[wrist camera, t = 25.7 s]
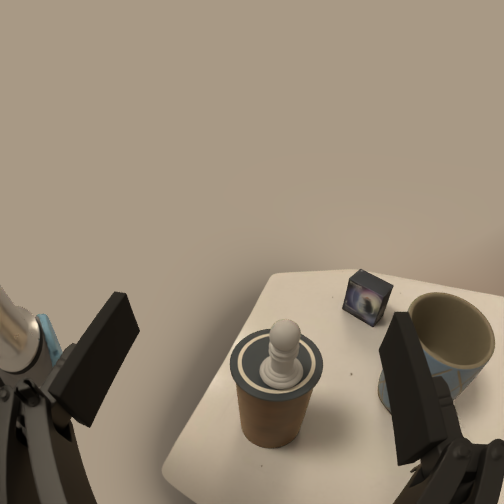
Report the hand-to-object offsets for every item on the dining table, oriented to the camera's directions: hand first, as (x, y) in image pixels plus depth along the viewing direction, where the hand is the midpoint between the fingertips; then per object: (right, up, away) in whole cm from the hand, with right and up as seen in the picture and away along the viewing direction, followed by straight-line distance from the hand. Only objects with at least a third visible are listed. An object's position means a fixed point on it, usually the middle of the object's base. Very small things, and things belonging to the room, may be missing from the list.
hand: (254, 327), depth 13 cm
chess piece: (+3, -12, +19) cm, 23 cm away
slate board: (+3, -11, +21) cm, 24 cm away
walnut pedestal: (+3, -28, +31) cm, 42 cm away
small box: (+29, -13, +56) cm, 65 cm away
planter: (+34, -26, +33) cm, 55 cm away
